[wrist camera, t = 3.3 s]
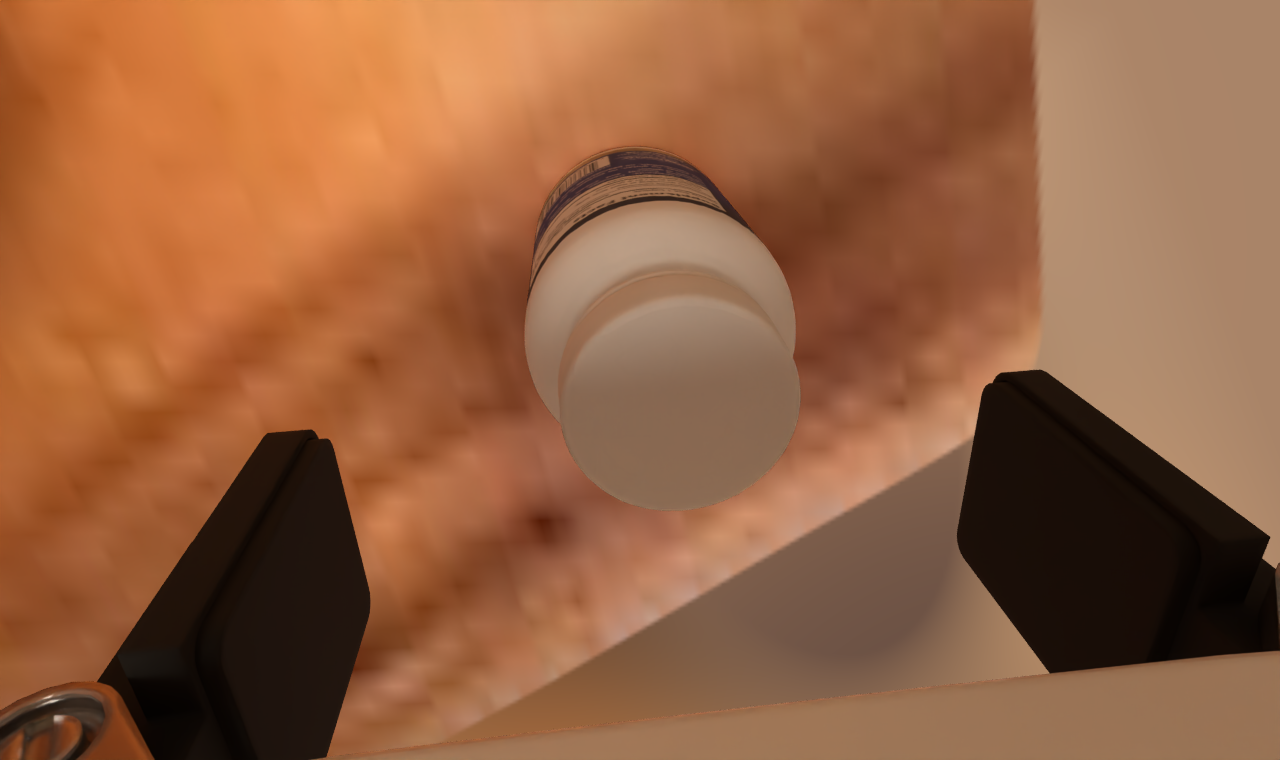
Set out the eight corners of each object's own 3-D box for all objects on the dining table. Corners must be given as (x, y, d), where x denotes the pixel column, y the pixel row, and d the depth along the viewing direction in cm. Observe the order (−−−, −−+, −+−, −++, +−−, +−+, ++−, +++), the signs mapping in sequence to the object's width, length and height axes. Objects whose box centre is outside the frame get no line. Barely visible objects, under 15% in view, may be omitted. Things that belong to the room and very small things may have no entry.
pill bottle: (726, 329, 22) (827, 539, 14) (542, 337, 22) (527, 558, 13) (734, 139, 20) (865, 248, 11) (528, 144, 20) (498, 261, 11)
